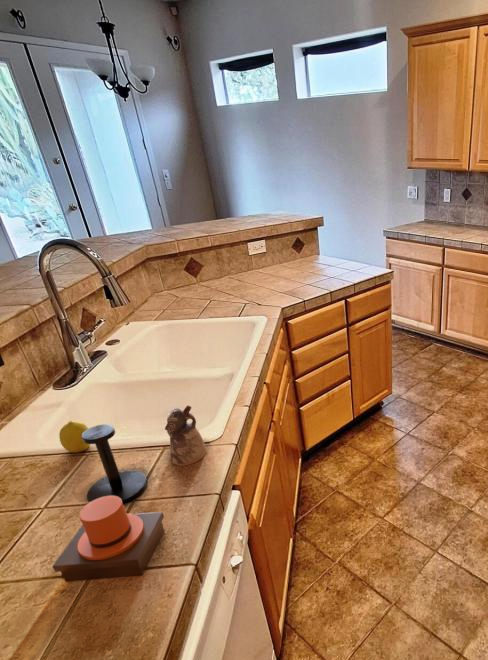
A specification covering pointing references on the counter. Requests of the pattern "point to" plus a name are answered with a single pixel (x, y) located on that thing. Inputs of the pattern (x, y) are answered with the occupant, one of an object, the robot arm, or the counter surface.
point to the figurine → (184, 437)
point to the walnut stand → (116, 566)
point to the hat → (107, 529)
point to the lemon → (73, 436)
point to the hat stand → (112, 469)
